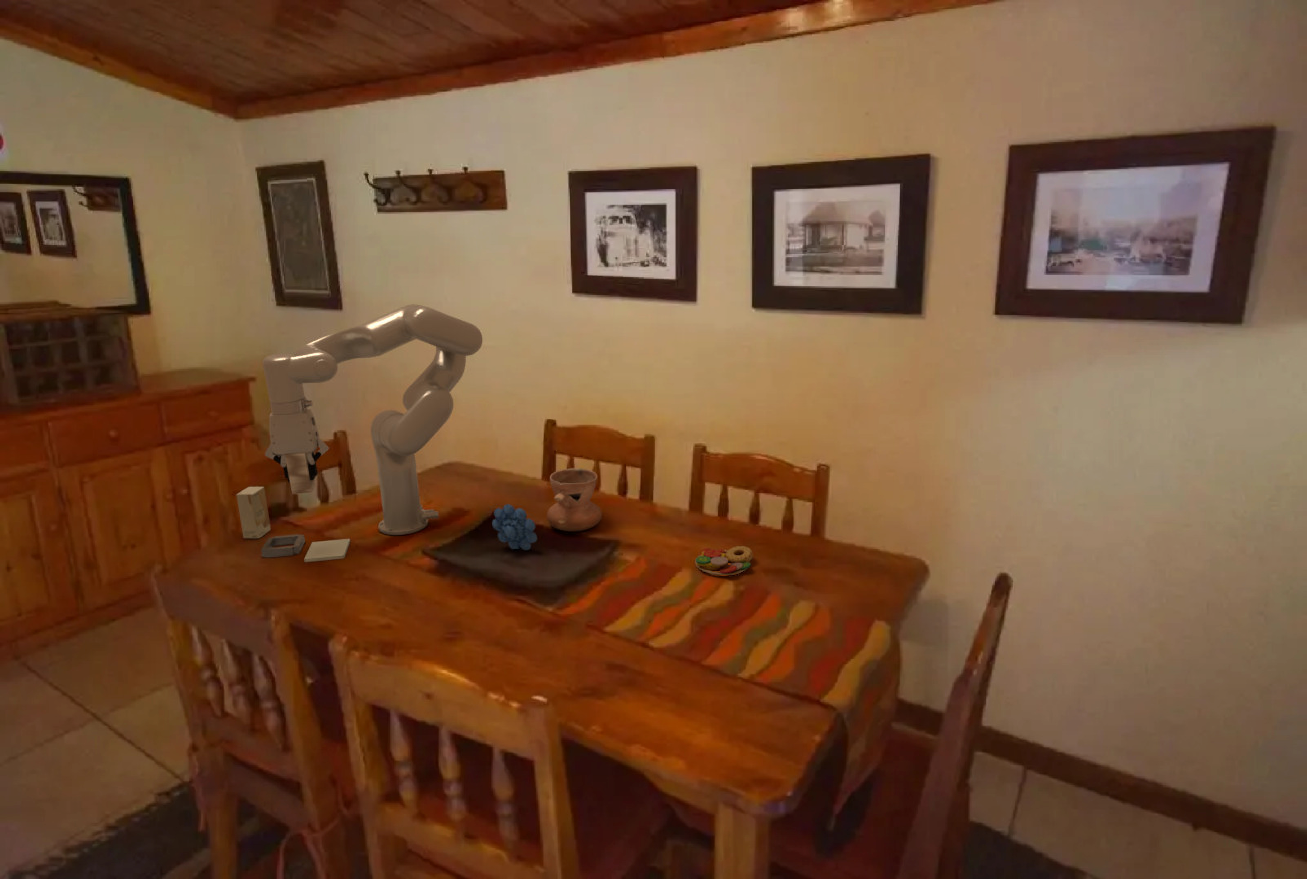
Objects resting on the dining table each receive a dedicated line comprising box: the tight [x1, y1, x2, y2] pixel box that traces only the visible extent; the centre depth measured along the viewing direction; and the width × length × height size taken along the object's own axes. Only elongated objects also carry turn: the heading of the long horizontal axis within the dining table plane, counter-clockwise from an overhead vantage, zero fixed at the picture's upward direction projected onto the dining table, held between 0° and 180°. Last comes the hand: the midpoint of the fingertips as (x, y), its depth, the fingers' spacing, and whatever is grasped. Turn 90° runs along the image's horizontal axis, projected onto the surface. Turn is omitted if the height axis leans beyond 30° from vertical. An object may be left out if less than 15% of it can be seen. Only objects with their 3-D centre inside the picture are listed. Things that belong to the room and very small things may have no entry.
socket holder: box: [260, 533, 306, 559], centre depth 191 cm, size 8×8×2 cm
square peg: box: [285, 453, 316, 495], centre depth 185 cm, size 4×4×10 cm
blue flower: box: [491, 503, 538, 551], centre depth 188 cm, size 12×7×12 cm, turn 75°
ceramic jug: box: [546, 467, 603, 532], centre depth 203 cm, size 18×14×14 cm
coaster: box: [303, 538, 351, 563], centre depth 190 cm, size 9×10×1 cm
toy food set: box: [694, 545, 754, 576], centre depth 180 cm, size 13×13×3 cm
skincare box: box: [235, 486, 272, 539], centre depth 199 cm, size 6×4×12 cm
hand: (302, 478), depth 186 cm, fingers closed on square peg, 4 cm apart
